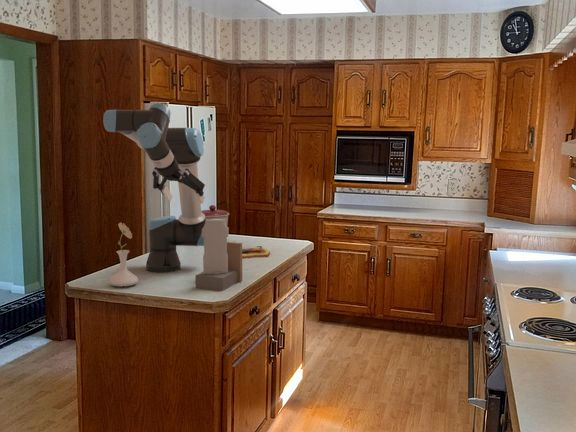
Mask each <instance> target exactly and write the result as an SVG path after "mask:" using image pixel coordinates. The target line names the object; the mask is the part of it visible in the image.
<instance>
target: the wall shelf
mask: <svg viewBox="0 0 576 432" xmlns="http://www.w3.org/2000/svg"><path fill="white" fill-rule="evenodd" d="M242 243H243V242H238V241H236V242H232V241H227V254H228V273H223V274H204V273H203V272H204V270H203V271H201V272H199V273H197V274H195V288H197V289H203V290H204V289H205V290H213V291H225V290H226V289H228V288H229V289H230V288H231V287H232V286H234V285H236V284H237V283H241V282H243V259H242Z"/></svg>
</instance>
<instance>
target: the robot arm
mask: <svg viewBox="0 0 576 432" xmlns="http://www.w3.org/2000/svg"><path fill="white" fill-rule="evenodd" d="M102 122H103V123H102V124H103V127H104V129H105V131H107V132H110V133H111V132H112V133H120V134H122V135H124V136H125V137H127V138H128V139H130V140H131V141H133V142H134V143H136V145H137V147H139V148H140V149H141V150H142V151H144V152H145V153H146V154H147V156H148V157H149V159H150V161H151V163H152V164H153V166H154V169H153V171H152V173H151V174H152V176H153V179H152V180H153V181H152V183H153V185H152V188H153V189H154V190H156V189H158V190H159V192H160V193H161V194H162V195H163V196H165V199H166V201H167V202H168V203H170V202H171V201H172V198H173V197H174V196H173V195H172V193H171V191H170V190H169V188H168V186H167V185H166V183H167V181H170V182H173V181H174V182H177V185H178V194H179V202H180V203H179V204H180V211H181V213H180V215H179V216H178V219H177V217H176V215H164V216H158V217H155V218H152V219H150V221H149V222H148V224H149V225H148V237H149V238H148V239H149V240H148V241H149V245H148V246H149V253H148V257H147V259H146V263H145V269H146V271H148V272H154V273H165V272H166V273H167V272H174V271H178V270H180V269H181V264H182V263H181V260H180V258H179V255H178V252H177V246H179V247H181V246H182V247H183V246H184V247H204V238H203V237H202V228H203V227H204V225H205V220H207V219H205V215H204V214H203V213H202V212H201V211H202V206H201V205H202V204H204V201H205V198H206V197H205V195H204V188H205V186H206V184H205V183H203V182H202V180H200V179H199V172H198V170H199V169H198V163H199V162H200V160H201V157H203V155H204V151H205V150H204V146H205V144H204V139H203V136H202V134H201V132H200V130H199V129H198V128H195V127H193V128H192V127H169V126H170V123H171V109H170V108H169V107H168V106H167V105H165V104H163V103H158V102H157V103H154V104H151V106H149V109H116V108H115V109H107V110H105V112H104V113H103V120H102ZM160 176H161V177H163V178H162V180H161V181H160Z"/></svg>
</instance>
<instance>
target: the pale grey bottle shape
mask: <svg viewBox="0 0 576 432" xmlns="http://www.w3.org/2000/svg"><path fill="white" fill-rule="evenodd" d="M229 228H230V227H228V225H227V226H226V223H225V220H222V219H211V220H205V225H204V227H203V228H202V237H203V238H204V246H203V255H202V256H203V257H202V259H203V260H202V261H203V263H202V264H203V265H202V266H203V269H202V270H203V271H204V272H203V271H202V272H203V273H204V274H223V273H228V254H227V242H228V237H229V230H230V229H229Z"/></svg>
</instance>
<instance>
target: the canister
mask: <svg viewBox="0 0 576 432" xmlns="http://www.w3.org/2000/svg"><path fill="white" fill-rule="evenodd" d="M216 208H217V207H216V205H214V204H211V205H210V206H209V208H208V209H203V210H202V209H201V212H202V213H203V214H204V215H205V219H207V220H211V219H222V220H225V223H226V226H227V227H228V222H229V221H228V220H229V215H230V213H229V212H228V211H226V210H224V209H216Z"/></svg>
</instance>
